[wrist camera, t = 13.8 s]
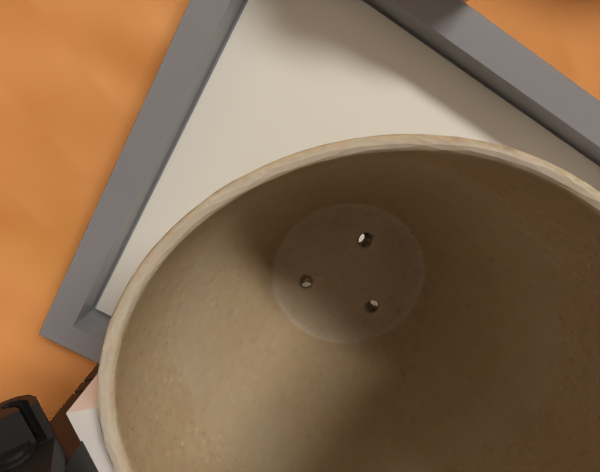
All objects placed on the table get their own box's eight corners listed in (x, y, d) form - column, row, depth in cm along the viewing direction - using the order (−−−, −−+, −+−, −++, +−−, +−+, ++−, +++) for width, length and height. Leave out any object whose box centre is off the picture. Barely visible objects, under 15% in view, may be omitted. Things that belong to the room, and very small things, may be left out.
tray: (70, 307, 17) (38, 334, 15) (266, -108, 12) (257, -149, 10) (395, 472, 19) (404, 515, 17) (664, 178, 15) (720, 189, 13)
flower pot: (356, 434, 16) (392, 684, 9) (146, 283, 14) (-9, 452, 7) (560, 257, 13) (826, 416, 6) (338, 43, 11) (382, -49, 5)
